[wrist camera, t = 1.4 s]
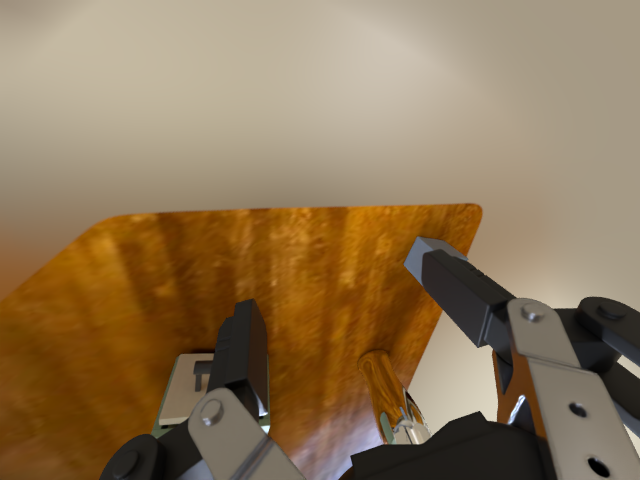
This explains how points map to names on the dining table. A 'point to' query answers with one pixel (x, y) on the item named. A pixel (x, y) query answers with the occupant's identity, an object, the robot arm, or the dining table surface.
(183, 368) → the drawer
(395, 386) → the metal cup
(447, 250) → the block
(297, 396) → the dining table surface
